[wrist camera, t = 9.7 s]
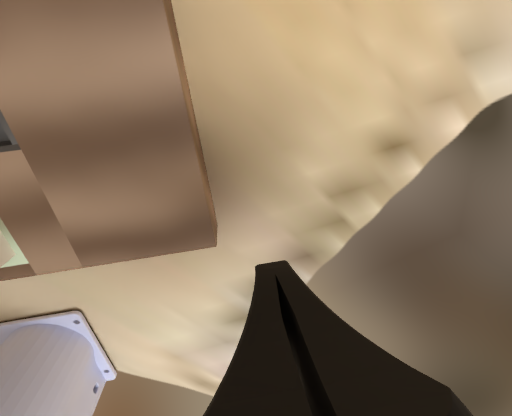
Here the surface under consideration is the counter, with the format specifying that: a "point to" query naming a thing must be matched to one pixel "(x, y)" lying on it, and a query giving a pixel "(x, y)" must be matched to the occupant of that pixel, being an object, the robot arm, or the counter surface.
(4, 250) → the block
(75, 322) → the robot arm
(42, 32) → the trap board
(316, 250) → the counter surface
